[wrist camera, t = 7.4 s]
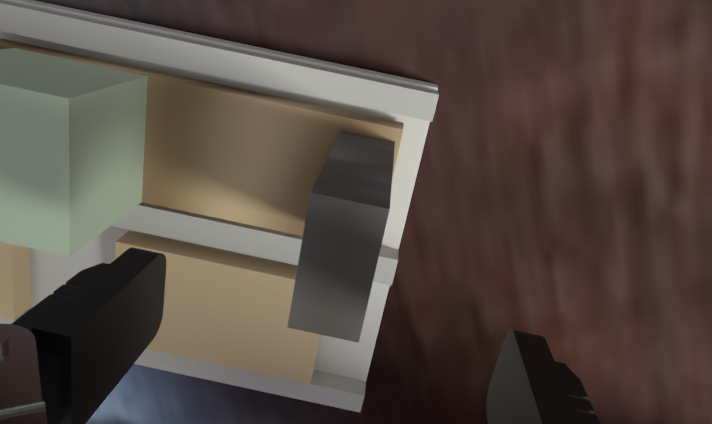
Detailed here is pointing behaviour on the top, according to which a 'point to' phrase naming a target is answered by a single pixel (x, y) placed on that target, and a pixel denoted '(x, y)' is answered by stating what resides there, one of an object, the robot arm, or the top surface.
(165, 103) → the tan slider with post
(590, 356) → the top surface
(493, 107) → the top surface
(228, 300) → the lane board
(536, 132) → the top surface
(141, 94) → the block
